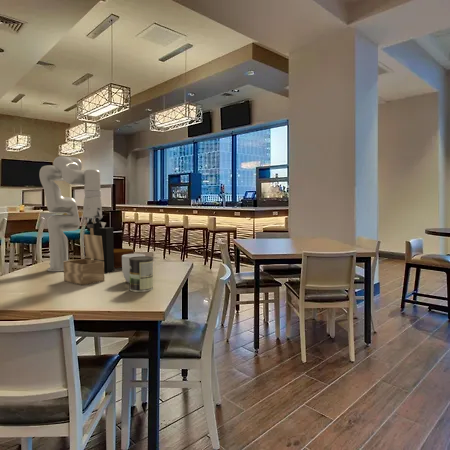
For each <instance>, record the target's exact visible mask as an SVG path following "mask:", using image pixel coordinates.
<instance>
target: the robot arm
mask: <svg viewBox="0 0 450 450" xmlns="http://www.w3.org/2000/svg"><path fill="white" fill-rule="evenodd" d="M39 180H40V184H41V186H42V188H43V190H44V195H45V200H46V201H45V202H46V207H47V210H48V212H49V213H51V214H55V215H51V216H49V217H48V218H47V220H46V226H47V231H48V237H49V239H48V240H49V263H48V264H49V267H48V268H46V271H48V272H64V261H69V242H68V241H69V240H68V237H67V236H66V234H65V233H64V232H74V231H78V230H79V228H80V227H81V226H80V225H81V222H80V220H81V219H80V216H79V211H78V210H79V209H78V203H77V201H76V200H75V199H74V198H73V197H71V196H63V195H62V189H61V188H60V186H59V185H58V183H56V182H57V181H58V182H65V183H67V184H69V185H74V186H75V185H76V186H84V198H83V207H82V208H83V209H82V215H83V217H84V219H85V222H86V231H88V232H90V228H88V227H87V225H88V224H93V225H94V231H100V227H101V222H102V219H103V207H102V206H103V205H102V198H101V196H102V194H101V172H100V170H98V169H90V168H89V169H83V163H82V161H81V159H80V158H78V157H74V156H64V155H63V156H62V155H59V156H57V157H55V158H54V160H53V165H50V164H49V165H43V166H41V168H40V169H39ZM55 181H56V182H55Z"/></svg>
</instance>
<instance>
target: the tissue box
mask: <svg viewBox="0 0 450 450" xmlns="http://www.w3.org/2000/svg"><path fill="white" fill-rule="evenodd" d="M100 225H101V226H100V231H94V228H93V231H94V235H96V236H102V245H103V255H104V260H98V259H93V260H98V261H104V274H109V273H111V272H114V271H115V267H114V249H115V248H114V245H115V244H114V243H115V242H114V227H111V226H110V227H105V226H106V225H107V222H104V221H100Z"/></svg>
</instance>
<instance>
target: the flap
mask: <svg viewBox="0 0 450 450" xmlns="http://www.w3.org/2000/svg"><path fill="white" fill-rule="evenodd" d="M87 227H88V228H90V231H89V233H90V234H83V243H84V252H85V259H92V260H94V259H98V260H104V255H103V245H102V236H96V235H94V231H93V228H94V225H93V224H88V225H87V224H86V228H87Z"/></svg>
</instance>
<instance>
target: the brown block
mask: <svg viewBox="0 0 450 450" xmlns="http://www.w3.org/2000/svg"><path fill="white" fill-rule="evenodd" d="M125 254H135V250H134V249H132V248H114V269H115V268H116V269H119V267H122V255H125Z"/></svg>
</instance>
